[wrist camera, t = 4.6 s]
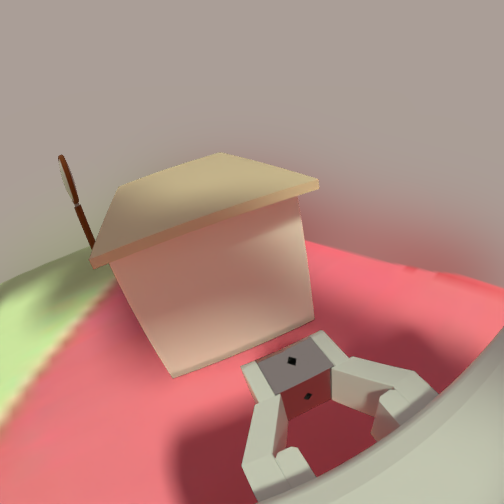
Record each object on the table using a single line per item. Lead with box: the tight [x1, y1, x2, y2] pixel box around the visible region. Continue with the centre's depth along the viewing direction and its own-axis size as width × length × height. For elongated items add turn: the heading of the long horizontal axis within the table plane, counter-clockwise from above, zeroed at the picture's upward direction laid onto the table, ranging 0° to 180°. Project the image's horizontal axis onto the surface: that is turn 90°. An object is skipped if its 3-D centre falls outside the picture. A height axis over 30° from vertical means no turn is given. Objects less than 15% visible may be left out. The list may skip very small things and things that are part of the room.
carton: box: [109, 196, 315, 378], centre depth 29 cm, size 13×20×12 cm, turn 21°
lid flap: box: [89, 152, 319, 269], centre depth 25 cm, size 14×22×1 cm, turn 21°
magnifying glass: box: [58, 155, 95, 249], centre depth 42 cm, size 9×2×20 cm, turn 40°
